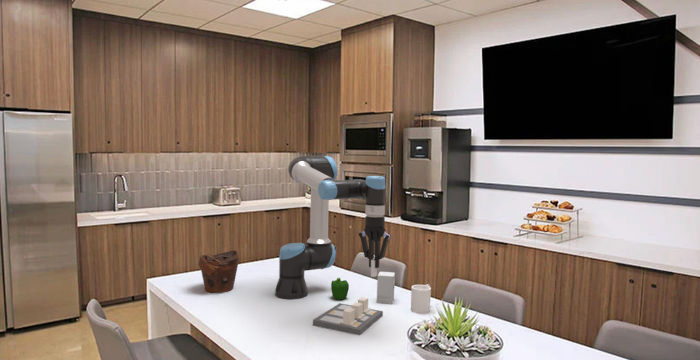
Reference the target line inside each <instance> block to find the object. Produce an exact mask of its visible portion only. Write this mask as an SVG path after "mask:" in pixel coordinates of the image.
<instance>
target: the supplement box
mask: <svg viewBox="0 0 700 360" xmlns="http://www.w3.org/2000/svg"><path fill="white" fill-rule="evenodd" d="M395 278H396V273H395V272H394V271H393V272H391V271H379V272H378V273H377V283H376V304H377V303H378V304H388V305H393V302H394V300H395V285H396V283H395V282H396V281H395Z"/></svg>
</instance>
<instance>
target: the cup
mask: <svg viewBox="0 0 700 360" xmlns="http://www.w3.org/2000/svg"><path fill="white" fill-rule="evenodd" d="M431 290H432V287H431V286H430V284H429V283H427V284H414V285H411V292H410V294H411V295H410V296H411V297H410V311H411V312H413V313H414V314H415V313H416V314H419V315H420V314H422V315H423V314H429V313H430V312H431V294H432V291H431Z"/></svg>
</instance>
